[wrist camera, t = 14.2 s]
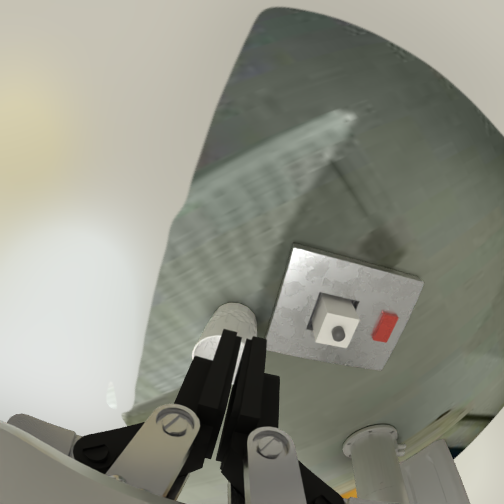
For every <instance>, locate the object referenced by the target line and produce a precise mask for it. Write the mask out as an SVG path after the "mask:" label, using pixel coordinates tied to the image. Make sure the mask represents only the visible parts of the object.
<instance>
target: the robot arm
mask: <svg viewBox="0 0 504 504" xmlns="http://www.w3.org/2000/svg"><path fill="white" fill-rule="evenodd" d="M241 340H242V337H239V336H237V332H235V331H231V330H227V329H223V332H222V335H221V338H220V341H219V344H218V347H217V350H216V352H215V355H214V358H213V360H209V359H206V358H202V357H199V356H194V358H193V361H192V363H191V365H190V368H189V370H188V372H187V375H186V377H185V379H184V382H183V384H182V386H181V388H180V391H179V393H178V395H177V398H176V400H175V402H174V404H165V405H162V406H160V407H158V408H157V409H155V410H154V411H153V412H152V414H151V415H150V416H149V418H148V419H147V420H146V422H143V423H139V424H135V425H131V426H127V427H123V428H119V429H114V430H110V431H105V432H100V433H95V434H89V435H86V436H83V437H82V436H79V435H76V433H75V432H74V431H71V430H68V429H64V428H61V427H58V426H55V425H53V424H50V423H47V422H44V421H42V420H39V419H37V418H34V417H32V416H29V415H25V414H16V415H14V416H12V417H11V418H10V419H9V420H8V422H7V423H6V422H3V421H0V504H185V503H181V502H178V501H176V500H177V498H178V496H179V494H180V493H181V491H182V489H183V487H184V485H185V483H186V481H187V479H188V477H189V475H190V473H191V472H193V471H196V470H198V469H200V468H202V467H203V463H204V459H205V458H208V459H211V458H212V454H213V451H214V448H215V444H216V441H217V438H218V434H219V431H220V428H221V424H222V421H223V418H224V414H225V410H226V407H227V402H228V398H229V394H230V389H231V385H232V380H233V376H234V372H235V367H236V363H237V358H238V354H239V349H240V345H241ZM266 348H267V339H263V338H259V337H255V336H253V337H252V340H251V339H246V342H245V345H244V349H243V352H242V356H241V359H240V363H239V366H238V370H237V373H236V377H235V380H234V384H233V387H232V391H231V395H230V400H229V404H228V409H227V413H226V417H225V422H224V426H223V431H222V435H221V440H220V444H219V448H218V453H217V457H216V461H220V462H221V467H220V469H221V470H222V471H221V473H222V474H223V475H224V476H225V477H226V479H227V480H228V504H410V501H409V497H408V494H407V490H406V486H405V482H404V479H403V475H402V471H401V468H400V464H399V461H398V457H397V456H403V455H404V454H405V450H404V449H405V448H406V444H398V443H397V441H396V440H397V438H398V433H397V430H396V429H395V428H394V427H393V426H391V425H383V424H381V425H374V426H369V427H366V428H364V429H361V430H359V431H357V432H355V433H354V434H352V435H351V436H350V437H348V438H347V439H346V441H345V442H344V444H343V453H344V454H345V455H346V456H347V457H349V458H351V459H352V465H353V471H354V477H355V484H356V490H357V497H358V498H353V497H350V498H349V499H344V498H342V497H341V496H340V495H339V494H338V493H337V492H336V491H334V490H333V489H332V488H331V487H329V486H328V485H327V484H326V483H324V482H323V481H322V480H321V479H320V478H318V477H317V476H316V475H315V474H314V473H312V472H311V471H310V470H309V469H308V468H307V467H305V466H304V465H303V464H302V463H301V462H300V461H299V460H298V458H297V453H296V448H295V444H294V442H293V439H292V438H291V437H290V436H289V435H288V434H287V433H286V432H284V431H283V430H280V429H278V420H279V388H280V377H279V376H276V375H271V374H266V373H264V370H265V359H266Z"/></svg>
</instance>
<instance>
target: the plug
mask: <svg viewBox="0 0 504 504" xmlns="http://www.w3.org/2000/svg"><path fill="white" fill-rule="evenodd" d="M311 320H312V326H313V331H314V337H315V342H317V343H322V344H327V345H332V346H337V347H343V348H347V347H348V345H349V343H350V340H351V338H352V336H353V334H354V332H355V330H356V327H357V325H358V323H359V320H360V319H359V317H358V315H357V313H356V311H355V308H354V306H353V304H352V302H351V300H350V299H347V298H342V297H338V296H334V295H330V294H325V293H321V295H320V297H319V300H318V303H317V306H316V308H315V311H314V314H313V317H312V319H311Z"/></svg>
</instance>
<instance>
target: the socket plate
mask: <svg viewBox="0 0 504 504" xmlns="http://www.w3.org/2000/svg"><path fill="white" fill-rule="evenodd" d="M423 285H424V282H423V281H422V280H421V279H420V278H419V277H418V276H414V275H411V274H407V273H404V272H400V271H397V270H393V269H389V268H386V267H382V266H379V265H375V264H371V263H368V262H364V261H360V260H357V259H353V258H349V257H345V256H342V255H338V254H334V253H331V252H327V251H323V250H319V249H315V248H312V247H308V246H304V245H300V244H296V243H293V245H292V248H291V252H290V255H289V259H288V262H287V266H286V269H285V273H284V276H283V279H282V283H281V286H280V289H279V293H278V296H277V299H276V303H275V306H274V309H273V312H272V316H271V319H270V322H269V325H268V328H267V332H266V335H265V338H264V339H267V348H266V350H269V351H273V352H278V353H282V354H287V355H292V356H297V357H302V358H307V359H312V360H317V361H323V362H328V363H334V364H340V365H346V366H353V367H360V368H366V369H374V370H381V371H382V369H383V367H384V365H385V364H386V362H387V360H388V358H389V356H390V355H391V353H392V351H393V349H394V347H395V345H396V343H397V341H398V339H399V337H400V335H401V333H402V331H403V329H404V327H405V325H406V323H407V321H408V319H409V317H410V315H411V313H412V310H413V308H414V306H415V304H416V302H417V299H418V297H419V295H420V292H421V290H422V288H423ZM321 293H325V294H330V295H334V296H338V297H342V298H347V299H350V300H351V302H352V304H353V306H354V308H355V311H356V313H357V315H358V317H359V319H360V320H359V323H358V325H357V327H356V330H355V332H354V334H353V336H352V338H351V340H350V343H349V345H348V347H347V348H343V347H337V346H332V345H327V344H322V343H317V342H315V337H314V331H313V326H312V320H311V319H312V317H313V314H314V311H315V308H316V306H317V303H318V300H319V297H320V295H321Z"/></svg>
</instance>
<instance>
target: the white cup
mask: <svg viewBox="0 0 504 504" xmlns="http://www.w3.org/2000/svg"><path fill="white" fill-rule="evenodd" d="M223 329H227V330H231V331H235V332H237V336H239V337H242V340H241V345H240V349H239V354H238V358H237V363H236V367H235V372H234V376H233V380H232V385H233V384H234V380H235V377H236V373H237V370H238V366H239V363H240V359H241V356H242V352H243V349H244V345H245V342H246V339H251V340H252V337H253V336H255V337H257V321H256V317H255V314H254V313H253V312H252V311H251V310H250V309H249V307H247V306H244V305H242V304H240V303H227V304H224V305H222V306H220V307H219V308H218V309H217V310H216V311H215V312H214V314H213V316H212V317H211V319H210V320H209V322H208V324H207V325H206V327H205V329H204V330H203V332H202V334H201V336H200V338H199V340H198V341H197V343H196V345H195V347H194V349H193V352H192V360H193V358H194V356H199V357H202V358H206V359H209V360H213V358H214V355H215V352H216V350H217V347H218V344H219V341H220V338H221V335H222V332H223Z"/></svg>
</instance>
